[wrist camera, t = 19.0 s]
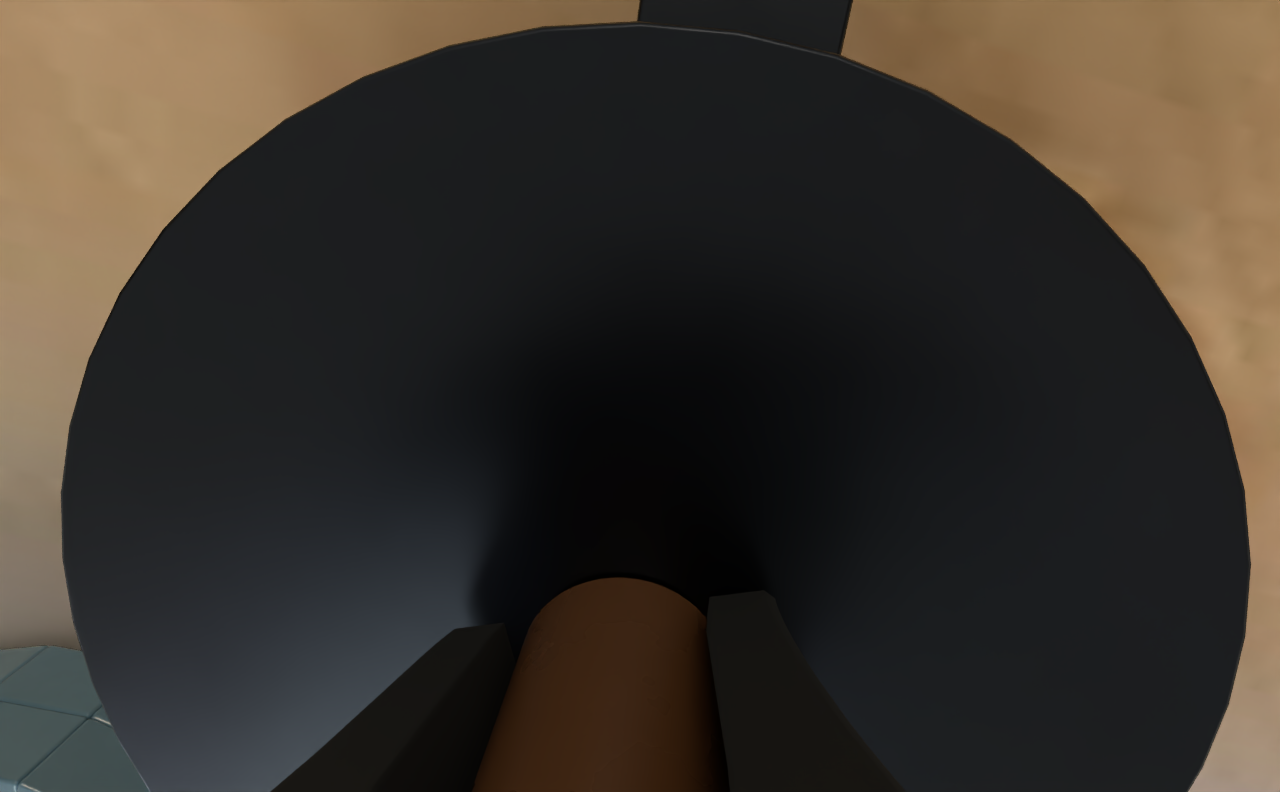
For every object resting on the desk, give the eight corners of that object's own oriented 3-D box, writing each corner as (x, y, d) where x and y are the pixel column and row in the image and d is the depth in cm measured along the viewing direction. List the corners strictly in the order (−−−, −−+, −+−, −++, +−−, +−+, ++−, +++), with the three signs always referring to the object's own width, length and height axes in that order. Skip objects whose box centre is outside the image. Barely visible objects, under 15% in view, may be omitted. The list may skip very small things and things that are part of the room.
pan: (1168, 2, 12) (1433, -81, 7) (865, 881, 17) (918, 1113, 13) (345, -132, 12) (151, -285, 8) (317, 778, 18) (198, 974, 13)
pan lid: (1403, 156, 8) (2366, 168, 3) (991, 1052, 12) (1161, 1580, 8) (88, -63, 8) (-681, -326, 4) (149, 891, 12) (-160, 1309, 8)
